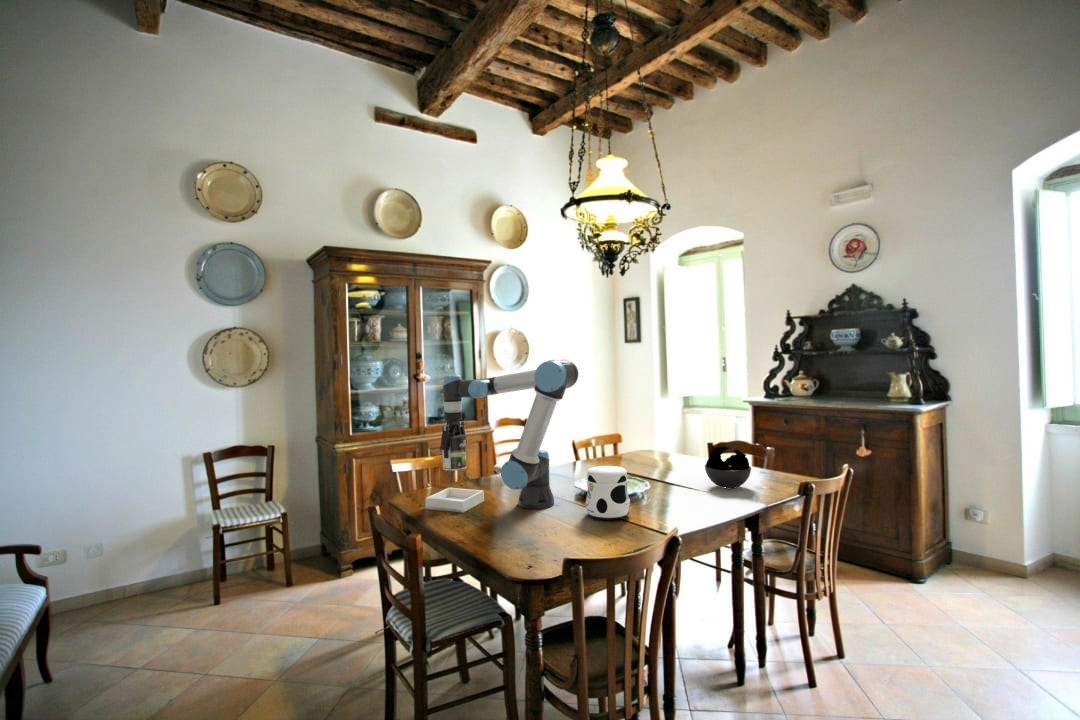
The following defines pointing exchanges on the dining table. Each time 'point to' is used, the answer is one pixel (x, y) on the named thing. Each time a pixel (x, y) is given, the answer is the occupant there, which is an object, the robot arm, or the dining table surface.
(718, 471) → the coal bowl
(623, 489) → the milk container
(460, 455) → the coffee can
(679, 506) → the dining table surface
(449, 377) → the robot arm
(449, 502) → the bin
